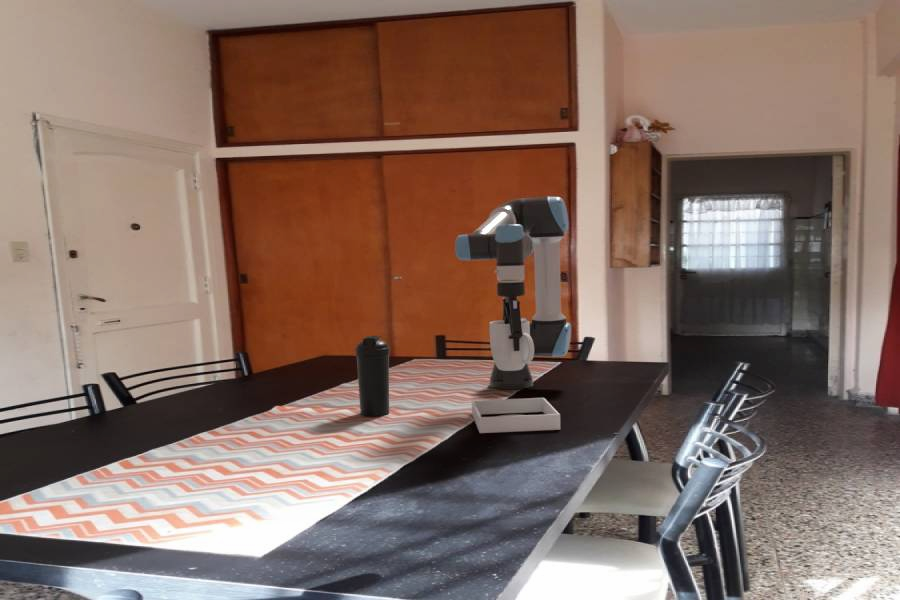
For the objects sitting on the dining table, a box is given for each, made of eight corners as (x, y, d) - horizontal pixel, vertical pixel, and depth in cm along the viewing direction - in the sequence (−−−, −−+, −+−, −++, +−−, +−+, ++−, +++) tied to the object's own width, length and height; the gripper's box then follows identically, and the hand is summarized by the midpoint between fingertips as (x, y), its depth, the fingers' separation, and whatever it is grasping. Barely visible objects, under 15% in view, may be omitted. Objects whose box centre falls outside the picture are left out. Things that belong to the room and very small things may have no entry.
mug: (548, 370, 185) (547, 322, 184) (517, 376, 179) (515, 326, 178) (513, 364, 197) (511, 319, 196) (482, 369, 191) (481, 322, 190)
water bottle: (394, 409, 209) (392, 334, 207) (388, 417, 199) (385, 338, 197) (362, 409, 210) (359, 334, 208) (354, 417, 200) (351, 339, 198)
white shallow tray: (472, 414, 199) (471, 400, 199) (544, 411, 201) (544, 397, 200) (479, 433, 178) (479, 417, 178) (560, 429, 180) (560, 414, 179)
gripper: (491, 280, 199) (493, 353, 201) (503, 283, 174) (505, 367, 176) (517, 279, 200) (518, 352, 201) (532, 282, 175) (534, 365, 176)
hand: (512, 359), depth 188 cm, fingers closed on mug, 13 cm apart
